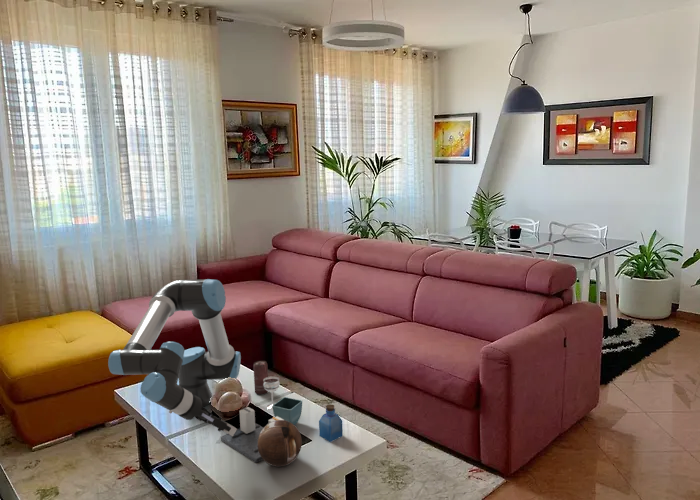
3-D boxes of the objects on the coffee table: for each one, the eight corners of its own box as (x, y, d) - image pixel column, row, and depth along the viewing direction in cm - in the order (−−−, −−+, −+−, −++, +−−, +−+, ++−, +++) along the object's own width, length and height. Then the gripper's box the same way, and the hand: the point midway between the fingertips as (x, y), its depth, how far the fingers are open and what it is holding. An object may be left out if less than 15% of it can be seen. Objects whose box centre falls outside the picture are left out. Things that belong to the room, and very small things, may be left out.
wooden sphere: (255, 456, 193) (253, 416, 190) (296, 447, 198) (294, 409, 195) (263, 479, 179) (261, 437, 176) (307, 469, 184) (306, 428, 181)
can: (263, 396, 240) (261, 366, 237) (252, 393, 243) (250, 363, 241) (271, 391, 245) (270, 361, 243) (261, 388, 248) (259, 358, 246)
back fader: (240, 430, 207) (239, 409, 206) (249, 426, 210) (248, 406, 209) (246, 433, 205) (245, 413, 203) (255, 429, 207) (254, 409, 206)
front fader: (269, 440, 200) (268, 419, 198) (278, 436, 202) (277, 415, 201) (276, 444, 197) (275, 422, 195) (284, 439, 200) (283, 418, 198)
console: (221, 440, 204) (220, 436, 203) (254, 425, 214) (253, 421, 214) (256, 463, 189) (255, 458, 188) (289, 445, 199) (289, 441, 199)
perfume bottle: (331, 430, 210) (330, 401, 208) (342, 435, 205) (341, 406, 203) (319, 436, 205) (318, 406, 203) (330, 442, 201) (329, 411, 199)
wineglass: (283, 404, 232) (282, 378, 230) (274, 411, 226) (273, 384, 224) (270, 401, 235) (269, 375, 233) (261, 408, 229) (259, 381, 227)
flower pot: (272, 427, 213) (271, 405, 212) (285, 417, 221) (284, 396, 219) (291, 431, 209) (290, 410, 207) (303, 421, 217) (303, 400, 215)
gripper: (167, 408, 173) (216, 435, 188) (188, 422, 164) (238, 449, 179) (181, 387, 176) (229, 415, 191) (202, 399, 167) (251, 428, 182)
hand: (233, 431), depth 185 cm, fingers closed
